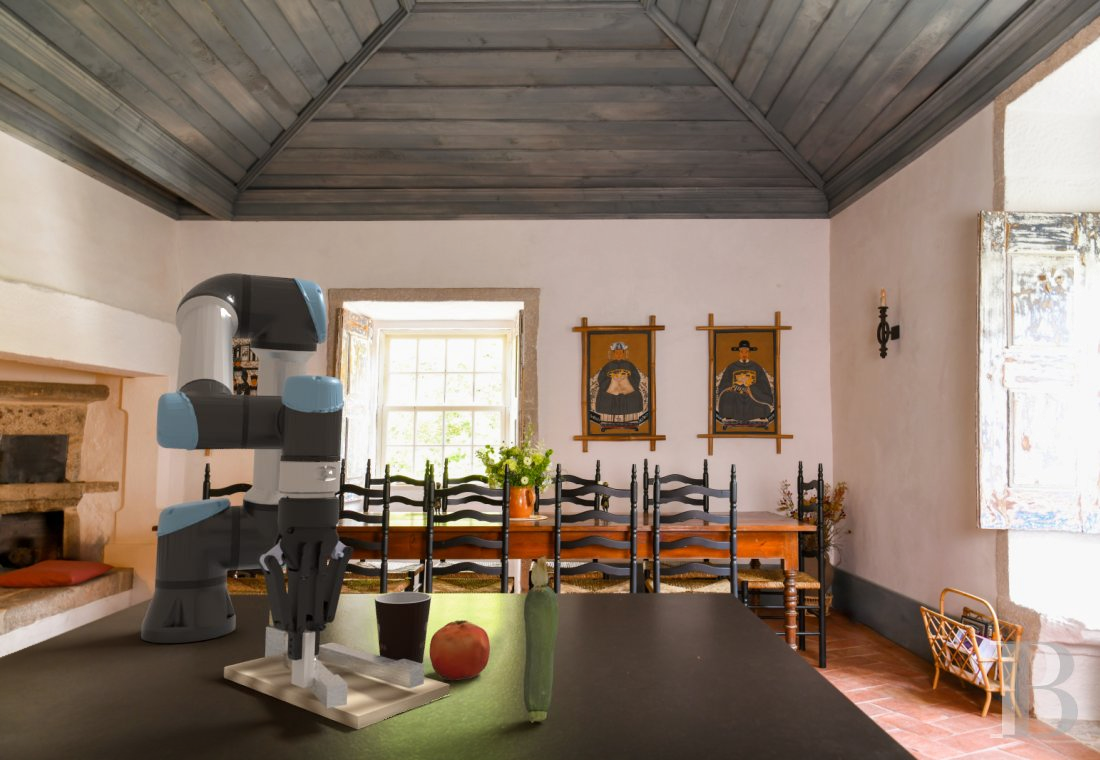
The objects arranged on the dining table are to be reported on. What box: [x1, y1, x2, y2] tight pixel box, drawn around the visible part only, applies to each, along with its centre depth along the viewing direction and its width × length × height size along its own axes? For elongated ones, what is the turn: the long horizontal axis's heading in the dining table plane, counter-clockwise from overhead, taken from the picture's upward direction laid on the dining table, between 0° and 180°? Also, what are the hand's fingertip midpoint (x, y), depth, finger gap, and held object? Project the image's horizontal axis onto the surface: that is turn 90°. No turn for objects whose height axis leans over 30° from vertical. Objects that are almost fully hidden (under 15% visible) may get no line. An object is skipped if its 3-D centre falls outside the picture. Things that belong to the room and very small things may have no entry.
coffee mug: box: [374, 591, 432, 664], centre depth 116 cm, size 12×9×10 cm
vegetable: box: [523, 555, 560, 724], centre depth 92 cm, size 4×4×20 cm
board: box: [223, 656, 451, 730], centre depth 103 cm, size 31×15×2 cm, turn 52°
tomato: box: [429, 619, 491, 681], centre depth 108 cm, size 9×9×8 cm
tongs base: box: [264, 625, 425, 689], centre depth 104 cm, size 30×5×4 cm, turn 52°
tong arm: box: [287, 656, 347, 708], centre depth 97 cm, size 20×2×2 cm, turn 32°
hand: (302, 684), depth 93 cm, fingers closed
